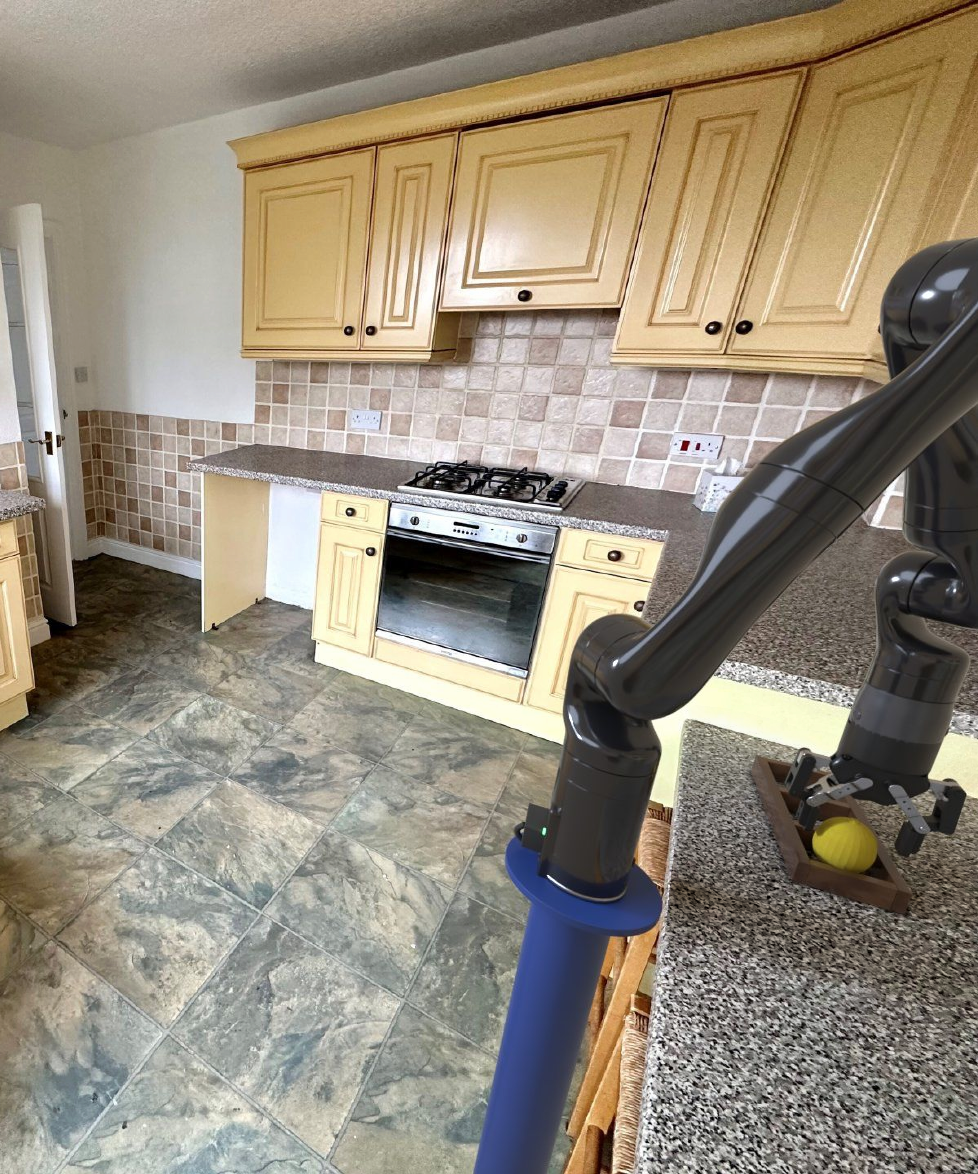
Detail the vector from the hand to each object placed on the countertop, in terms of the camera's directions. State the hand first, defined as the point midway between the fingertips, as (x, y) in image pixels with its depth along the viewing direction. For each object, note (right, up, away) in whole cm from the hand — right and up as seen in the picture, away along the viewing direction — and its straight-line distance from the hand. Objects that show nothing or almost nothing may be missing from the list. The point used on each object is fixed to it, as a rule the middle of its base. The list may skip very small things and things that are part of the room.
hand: (851, 839), depth 78 cm
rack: (+4, -2, +9) cm, 10 cm away
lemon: (0, -5, +2) cm, 5 cm away
